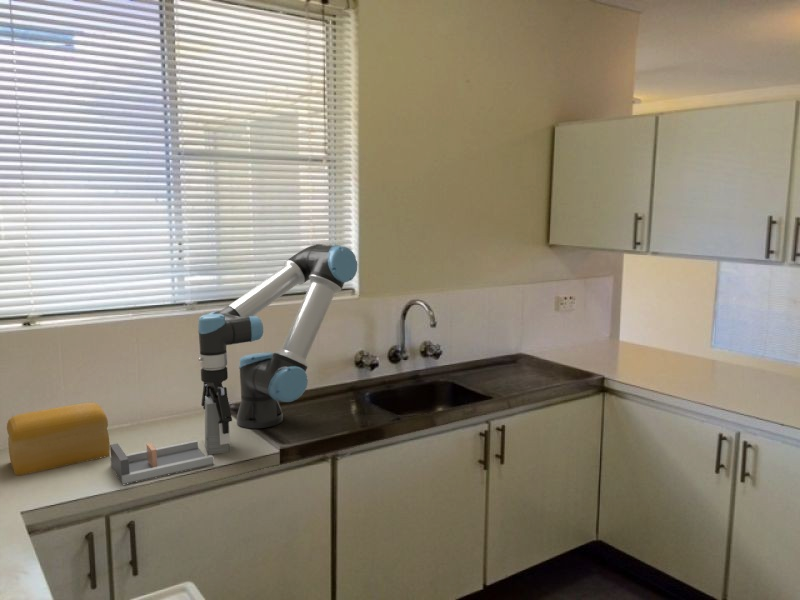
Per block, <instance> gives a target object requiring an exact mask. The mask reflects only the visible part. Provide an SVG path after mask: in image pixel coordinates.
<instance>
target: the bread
mask: <svg viewBox="0 0 800 600" xmlns="http://www.w3.org/2000/svg"><path fill="white" fill-rule="evenodd" d="M108 425H109V422H108V417H107V415H106V413H105V411H104V410H103V408H102V406H100V405H99V404H98V403H95V402H84V403H79V404H73V405H65V406H60V407H53V408H48V409H43V410H42V409H41V410H37V411H31V412H26V413H24V412H23V413H20V414H16V415H14V416H12V417H10V418H9V419H8V421H7V423H6V431H7V435H8V437H7V440H8V444H7V445H8V446H7V447H8V455H9V461H10V464H11V467H12V469H13V471H14V474H15V475H16V476H23V475H28V474H32V473H38V472H41V471H45V470H46V471H47V470H50V469H55V468H60V467H64V466H69V465H73V464H79V463H83V461H84V462H86V461H87V460H88V461H92V460H91V459H93V460H97V459H101V458H100V457H102V458H105V457H104V456H106V457H109V456H110V453H111V451H110V445H111V444H110V436H109V435H110V434H109V431H108ZM108 455H109V456H108ZM96 458H97V459H96ZM78 462H79V463H78Z"/></svg>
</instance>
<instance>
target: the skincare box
mask: <svg viewBox="0 0 800 600" xmlns="http://www.w3.org/2000/svg"><path fill="white" fill-rule="evenodd" d="M228 402H229V403H230V401H229V400H228ZM225 418H226V417H225ZM218 421H220V418H219V415H218V411H217V408H216V403H214V402H213V399H212V398H211V397H210V396H208V397H207V396H205V415H204V447H205V452H206V454H207V456H208V455H216V454H225V452H227V453H229V452H230V443H227V444H223V445H221V444H220V432H219V424H218Z"/></svg>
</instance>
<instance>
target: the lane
mask: <svg viewBox="0 0 800 600" xmlns="http://www.w3.org/2000/svg"><path fill="white" fill-rule="evenodd" d="M155 449H156V452H157V467H152V466H151V465H150V463H149V462H148V459H147V449H146V450H141V451H136V452H130V453H127V454H126V453H125V452H124V450H123V449H122V447H121V446H120V444H119V443H118V442H117V443H112V444H110V467H111V468H112V470H113V472H114V473H115V474H117V475H116V476H117V478H118V477H119V478H118V479H120V480H119V481H120V483H121V482H122V483H121V485H123V484H127V483H131V482H135V483H137V482H136V481H140V482H143V481H142V480H144V481H147V480H146V479H149V480H151V479H150V478H153V479H156V478H155V477H157V478H160V476H162V477H165V476H164V475H166V476H169V475H168V474H171V475H174V474H173V473H175V474H177V473H176V472H179V473H182V472H181V471H184V472H186V471H185V470H188V471H191V470H190V469H193V470H196V468H197V469H201V468H205V467H204V466H206V467H209V465H210V466H214V465H215V464H214V456H213V454H209V455H208V454H207V455H206V454H204V452H203V451H202V450H201V449H200V448H199V444H198V440H196V439H195V440H190V441H185V442H181V443H175V444H171V445H170V444H169V445H165V446H161V447H156V448H155ZM200 467H201V468H200ZM131 484H132V483H131ZM127 485H128V484H127Z"/></svg>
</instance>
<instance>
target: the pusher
mask: <svg viewBox="0 0 800 600" xmlns="http://www.w3.org/2000/svg"><path fill="white" fill-rule="evenodd" d="M146 450H147V459H148V462H149V463H150V465H151V466H152V467H157V452H156V449H155V446H154V445H153V444H152V442H150V443H147V444H146Z"/></svg>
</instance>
